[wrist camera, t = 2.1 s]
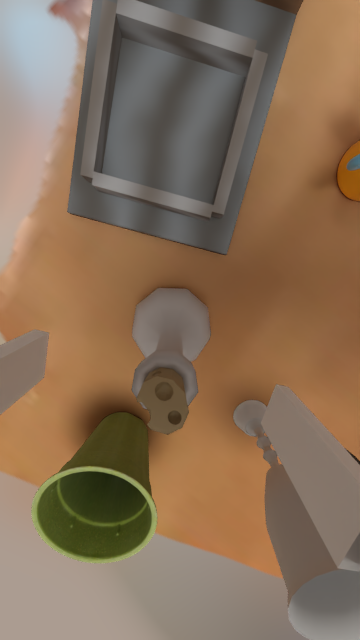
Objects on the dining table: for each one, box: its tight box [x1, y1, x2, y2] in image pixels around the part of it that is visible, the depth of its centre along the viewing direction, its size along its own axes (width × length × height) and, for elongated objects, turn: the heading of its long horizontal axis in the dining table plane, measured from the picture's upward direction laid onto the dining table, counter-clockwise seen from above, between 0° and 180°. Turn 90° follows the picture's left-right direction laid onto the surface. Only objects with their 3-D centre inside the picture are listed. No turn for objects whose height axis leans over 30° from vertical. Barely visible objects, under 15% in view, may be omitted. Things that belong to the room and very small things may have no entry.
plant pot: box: [31, 412, 157, 563], centre depth 26 cm, size 12×12×11 cm
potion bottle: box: [132, 288, 211, 435], centre depth 19 cm, size 9×9×18 cm
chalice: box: [233, 400, 360, 640], centre depth 22 cm, size 7×7×18 cm
